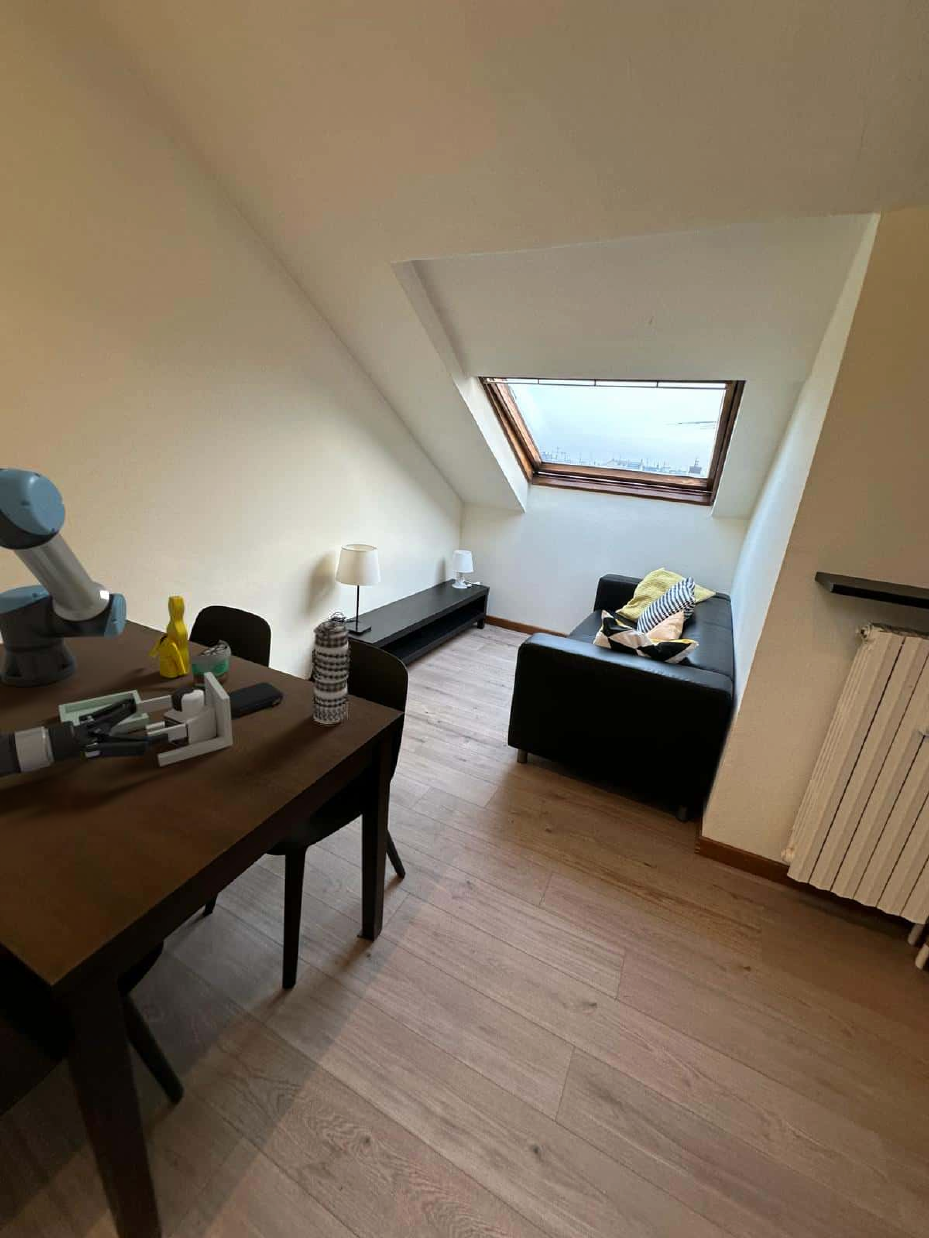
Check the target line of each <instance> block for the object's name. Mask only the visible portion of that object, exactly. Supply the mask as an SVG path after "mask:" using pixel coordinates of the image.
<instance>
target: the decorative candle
mask: <svg viewBox="0 0 929 1238" xmlns="http://www.w3.org/2000/svg"><path fill="white" fill-rule="evenodd" d="M349 632H350V629H348V627H346V626H345V625H344V624H343V623H342V622H339V621H336V620H335V621H334V620H333V621H332V620H328V621H324V622H321V623H319V624H318V626H317V627H315V628H314V629H313V633H314V634H315V635H314V636H315V637H314V638H315V639H314V643H313V644H314V648H313V650H312V651H311V663H313V664H312V674H311V675H312V676H313V678H314V690H313V691H312V692H313V693H312V698H313V699H312V702H313V704H312V715H313V716H312V717H313V718H314V719H315V720H314V719H313V718H312V719H313V720H314V721H317V722H320V723H323V724H330V723H331V724H332V722H339V720H340V719H343V717H344V716H345V715H346V713H347V714H348V713H349V711H348V709H349V706H348V705H349V702H348V701H349V690H348V683H347V679H348V677H349V675H350V671H349V670H348V669H350V666H351V665H350V663H351V658H350V657H349V656H350V655H352V651H351V650H350V649H352V646H351V644H349V641H348V637H349V636H348V633H349ZM317 722H316V723H317Z"/></svg>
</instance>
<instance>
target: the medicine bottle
mask: <svg viewBox="0 0 929 1238" xmlns="http://www.w3.org/2000/svg"><path fill="white" fill-rule="evenodd" d="M204 693H205V692H204V689H200V688H197V687H194V686H187V687H182V688H179V689H177V690H175V691H173V693H171V701H172V709H171V710H168V711H167V712H165V713H163V721H164V722H165V728H169V727H173V726H177V725H181V724H185V725H186V733H187V737H183V738H179V739H176V740H172V741H168V743H171V744H172V745H175V746H176V747H177V746H178V747H179V748H182V747H186V746H190V745H193V744H197V743H200V742H204V741H207V740H211V739H214V738H216V736H217V733H216V723H215V711H214V709H213V708H210V707H208V706H207V705H205V695H204Z"/></svg>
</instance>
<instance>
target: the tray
mask: <svg viewBox="0 0 929 1238" xmlns="http://www.w3.org/2000/svg"><path fill="white" fill-rule="evenodd" d="M127 698H129V699H131V698H134V699H135V703H136V702H140V701H142V700H141V697H140V695H139V693H138V690H137V689H134V690H130V691H123V692H120V693H114V694H109V695H104V696H99V697H94V698H90V699H85V700H80V701H75V702H69V703H65V704H64V703H63V704H59V705H58V710H59V715H60V722H65V721H72V722H73V723H74V726H77V725H80V723H79V718H78V717H79V716H81V715H85V714H89V713H92V712H95V711H97V710H100V709H102V708H105V707H107V706H109V705H112V704H114V703H117V702H119V701H122V700H124V699H127ZM123 706H124V705H123ZM149 718H150V717H149V715H148V713H144V714H139V715H138V714H137V711H136V713H135V714H133V715H131V716H130V717H128V718H126V719H125V720H123V721H122V722H120V723H118V724H117V725H115V726H114V727H112V729H111V731H113V732H114V733H120V734H128V733H130V732H131V733H132V732H135V731H139V730H143V729H146V726H147V725H150V719H149Z"/></svg>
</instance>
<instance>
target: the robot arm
mask: <svg viewBox="0 0 929 1238" xmlns="http://www.w3.org/2000/svg"><path fill="white" fill-rule="evenodd" d="M65 507H66V506H65V504H63V497H62V494H61V493H60V491H59V489H58V487H57V486H56V485H55V484H54V483H53V481H51V480H50V479H49V478H48V477H46V476H45V475H43V474H41V473H39V472H37V471H36V472H35V471H29V470H24V469H20V468H10V467H9V468H0V548H3V549H7V550H10V551H12V552H13V553H14V554H15V555H16V556H17V557H18V558H19V560H20V561H21V562H22V563H23V564H24V565H25V567H26V569H28V570H29V572H31V574H32V575H33V576H34V578H36V580H37V581H38V582H39V583H40V584H33V585H27V586H25V585H24V586H21V587H16V588H12V589H8V590H5V591H3V592H1V593H0V636H1V641H2V645H3V649H4V654H3V658H2V663H1V667H0V678H1V682H2V683H3V684H5V685H7V686H12V687H35V686H42V685H48V684H53V683H56V682H59V681H62V680H64V679H66V678H68V677H70V676H72V675H74V674H75V673H76V672H77V671H78V664H77V660H76V657H75V656H74V655H73V654H72V651H70V650H69V647H68V646H67V644H66V643H65V640H64V639H103V640H104V639H107V638H109V639H110V638H117V637H119V636H120V635H121V634H122V633H123V631H124V629H125V626H126V620H127V600H126V597H125V596H124V595H123V594H121V593H117V592H114V593H110V592H109V591H108V589H107V588H106V587H105V586H104V585H102V584H101V583H99V582H96V581H93V579H92V578H91V577H90V575H89V574H88V572H87V571H86V569H85V568H84V566H83V565H82V563H81V562H80V561H79V559H78V557H77V556H76V555H75V552H73V550H72V549H71V547H70V546H69V545H68V542H66V540H65V539H64V537H63V535H61V532H60V531H61V530H62V527H63V526H64V525H65V524H64V523H65V519H66V508H65ZM123 705H124V706H123ZM169 708H173V705H172V695H170V694H169V695H164V696H160V697H155V698H150V699H146V700H141V701H140V702H136V703H135V699H134V698H131V699H129V698H127V699H124V700H122V701H119V702H117V703H114V704H112V705H109V706H107V707H105V708H102V709H100V710H97V711H95V712H92V713H89V714H85V715H81V716H79V717H78V718H79V723H80V725H77V726H74V723H73V722H72V721H65V722H61V721H60V722H56V723H52V724H50V725H48V728H45V727H44V726H42V725H41V726H37V727H34V728H28V729H25V730H20V731H15V732H11V733H5V734H2V731H1V730H0V779H3V778H6V777H10V776H14V775H19V774H22V773H26V772H30V771H36V770H38V769H42V768H46V767H50V765H51V764H52V763H53V762H54V764H57V765H58V764H62V763H66V762H70V761H75V760H78V759H79V758H80V753H83V752H84V753H85V758H86V761H92V760H98V759H101V758H103V759H107V758H119V757H120V758H122V757H123V758H124V757H126V758H127V757H144V756H146V755H148V754H149V753H150V752H151V747H154V746H157V745H160V744H161V745H162V744H165V743H167V742H168V741H172V740H176V739H179V738H183V737H187V733H186V725H185V724H181V725H177V726H173V727H169V728H165V729H161V730H157V731H153V732H149V733H148V735H142V734H141V735H140V734H131V733H130V734H128V733H123V734H120V733H114V732H113V731H111V729H112V727H114V726H115V725H117V724H118V723H120V722H122V721H123V720H125V719H126V718H128V717H130V716H131V715H133V714H135V713H136V711H137V714H138V715H139V714H144V713H147V714H148V713H152V712H153V713H154V712H156V711H160V710H161V711H162V710H166V709H169ZM168 743H169V742H168Z"/></svg>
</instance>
